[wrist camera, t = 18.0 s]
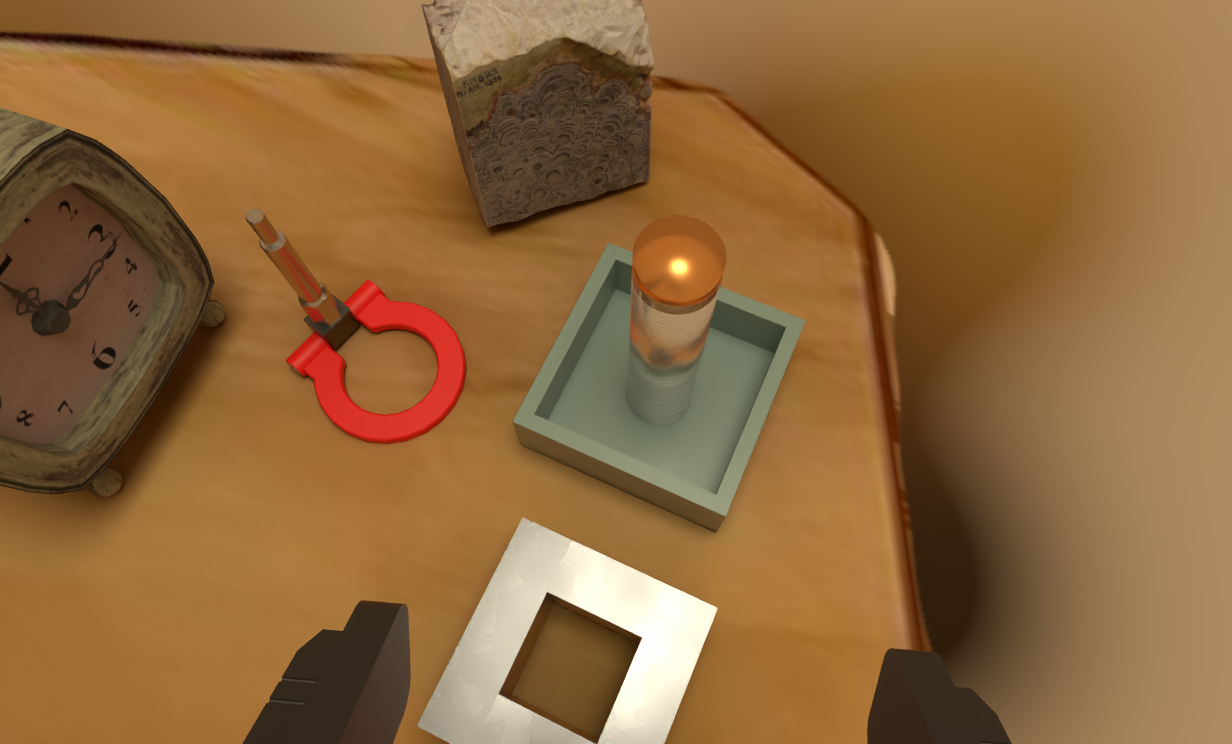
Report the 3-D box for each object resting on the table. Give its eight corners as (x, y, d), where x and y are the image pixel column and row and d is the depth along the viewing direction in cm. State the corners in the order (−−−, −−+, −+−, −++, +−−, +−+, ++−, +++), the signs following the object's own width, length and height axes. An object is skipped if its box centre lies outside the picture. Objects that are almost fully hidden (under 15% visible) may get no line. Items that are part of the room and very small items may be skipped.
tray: (715, 532, 42) (725, 516, 38) (521, 445, 44) (512, 421, 40) (790, 351, 46) (805, 320, 42) (609, 278, 48) (608, 242, 44)
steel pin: (676, 435, 43) (705, 310, 29) (616, 409, 44) (617, 275, 30) (701, 380, 44) (739, 235, 31) (642, 355, 45) (655, 203, 31)
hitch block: (626, 821, 37) (627, 836, 32) (438, 723, 38) (416, 726, 34) (707, 617, 40) (717, 608, 36) (532, 535, 42) (522, 517, 38)
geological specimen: (491, 243, 49) (442, 62, 35) (461, 168, 51) (403, -31, 37) (651, 188, 50) (664, -6, 36) (614, 117, 52) (614, -92, 39)
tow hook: (496, 364, 46) (381, 275, 48) (465, 257, 34) (311, 143, 36) (396, 475, 44) (278, 377, 45) (323, 402, 31) (166, 272, 33)
